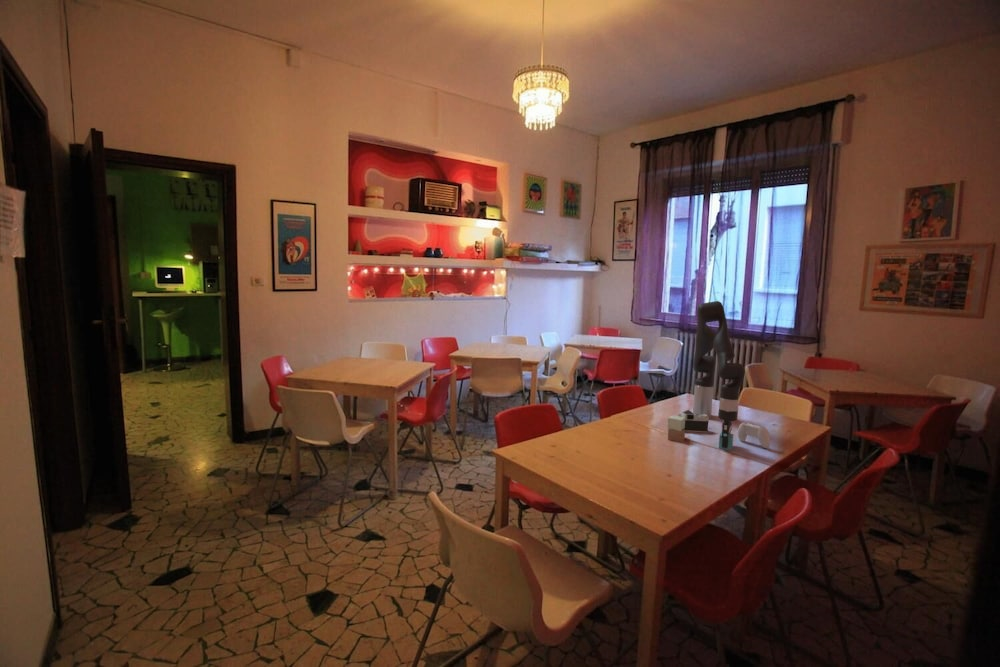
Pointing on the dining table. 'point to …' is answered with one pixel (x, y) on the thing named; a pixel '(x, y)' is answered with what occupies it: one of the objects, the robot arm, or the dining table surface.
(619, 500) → the dining table surface
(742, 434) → the game controller
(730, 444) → the teal block
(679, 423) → the sage block
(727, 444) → the robot arm
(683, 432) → the walnut base block
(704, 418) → the camera
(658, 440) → the dining table surface
